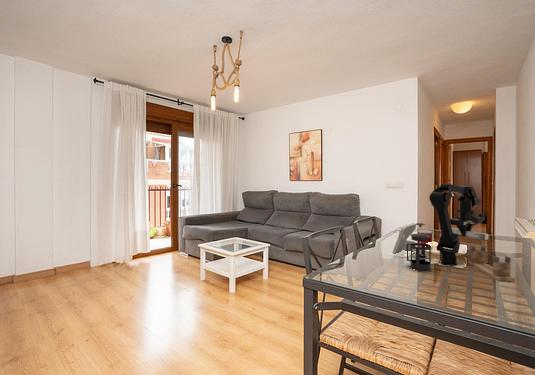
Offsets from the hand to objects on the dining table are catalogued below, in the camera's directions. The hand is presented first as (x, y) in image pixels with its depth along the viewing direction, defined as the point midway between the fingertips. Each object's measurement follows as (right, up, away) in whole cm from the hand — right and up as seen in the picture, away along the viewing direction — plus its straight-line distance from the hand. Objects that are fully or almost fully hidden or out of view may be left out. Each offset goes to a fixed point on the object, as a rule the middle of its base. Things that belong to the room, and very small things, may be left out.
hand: (465, 236), depth 155 cm
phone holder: (-29, -13, +12) cm, 34 cm away
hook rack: (-4, -13, -22) cm, 26 cm away
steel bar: (0, 0, 0) cm, 1 cm away
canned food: (-11, -12, +21) cm, 27 cm away
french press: (-34, -14, -14) cm, 39 cm away
